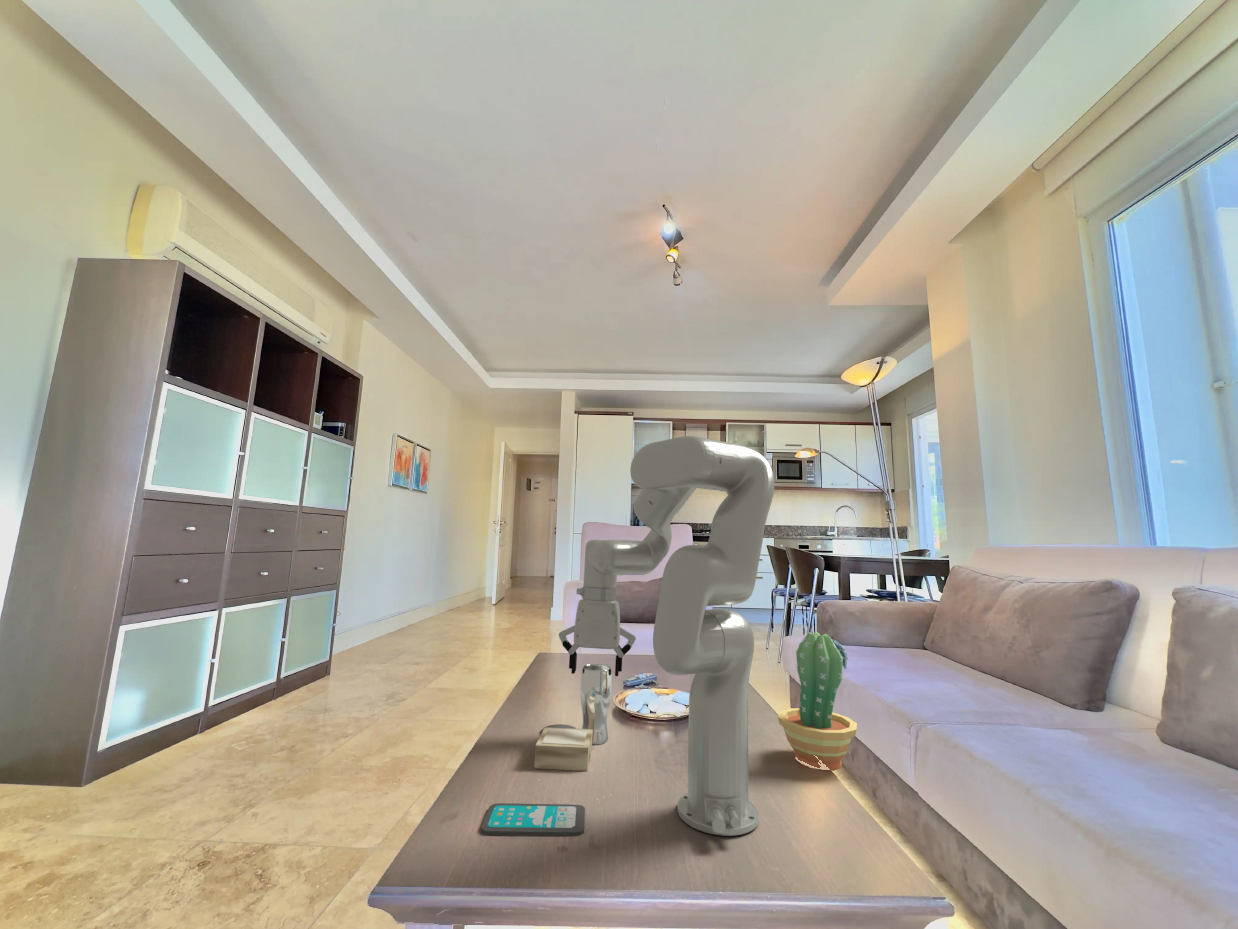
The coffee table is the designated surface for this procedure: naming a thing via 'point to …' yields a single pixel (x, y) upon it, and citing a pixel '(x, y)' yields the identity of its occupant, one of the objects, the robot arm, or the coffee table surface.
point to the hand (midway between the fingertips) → (595, 673)
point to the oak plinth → (564, 749)
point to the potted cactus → (819, 704)
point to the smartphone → (534, 820)
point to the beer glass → (596, 699)
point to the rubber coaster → (559, 726)
